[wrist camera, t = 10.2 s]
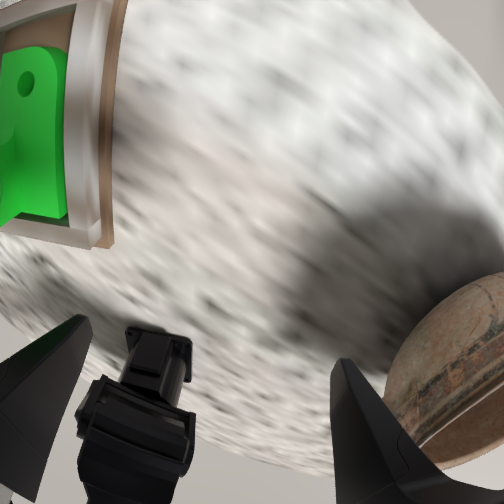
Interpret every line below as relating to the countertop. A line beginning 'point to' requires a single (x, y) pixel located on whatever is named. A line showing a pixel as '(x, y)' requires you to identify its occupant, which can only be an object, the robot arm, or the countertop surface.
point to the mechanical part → (32, 133)
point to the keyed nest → (75, 110)
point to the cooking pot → (453, 376)
